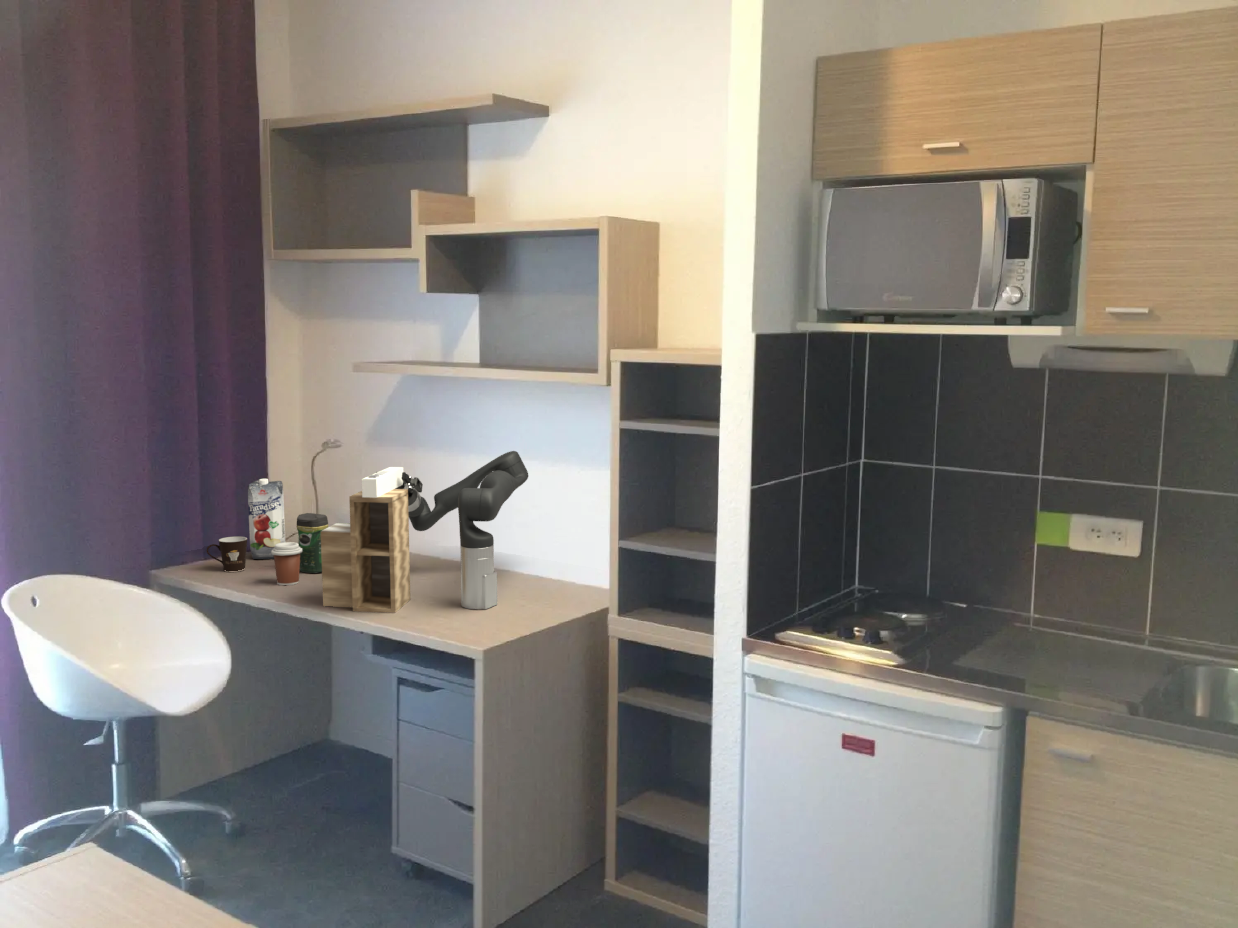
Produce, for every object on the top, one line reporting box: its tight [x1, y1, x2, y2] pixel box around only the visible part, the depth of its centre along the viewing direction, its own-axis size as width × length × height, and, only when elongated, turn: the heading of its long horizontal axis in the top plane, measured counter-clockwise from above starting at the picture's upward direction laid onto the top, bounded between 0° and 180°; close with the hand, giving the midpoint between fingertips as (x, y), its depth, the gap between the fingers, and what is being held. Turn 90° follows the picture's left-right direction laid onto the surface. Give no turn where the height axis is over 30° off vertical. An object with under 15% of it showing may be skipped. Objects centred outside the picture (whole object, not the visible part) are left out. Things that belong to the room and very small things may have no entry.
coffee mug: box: [206, 536, 248, 571], centre depth 346 cm, size 12×9×10 cm
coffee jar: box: [296, 512, 329, 574], centre depth 344 cm, size 10×8×19 cm
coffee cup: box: [271, 541, 302, 586], centre depth 329 cm, size 9×9×12 cm
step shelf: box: [321, 489, 411, 613], centre depth 304 cm, size 16×22×32 cm
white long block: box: [361, 466, 404, 498], centre depth 304 cm, size 24×4×5 cm, turn 174°
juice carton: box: [247, 478, 286, 560], centre depth 363 cm, size 9×10×27 cm
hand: (389, 475), depth 309 cm, fingers open, 7 cm apart
